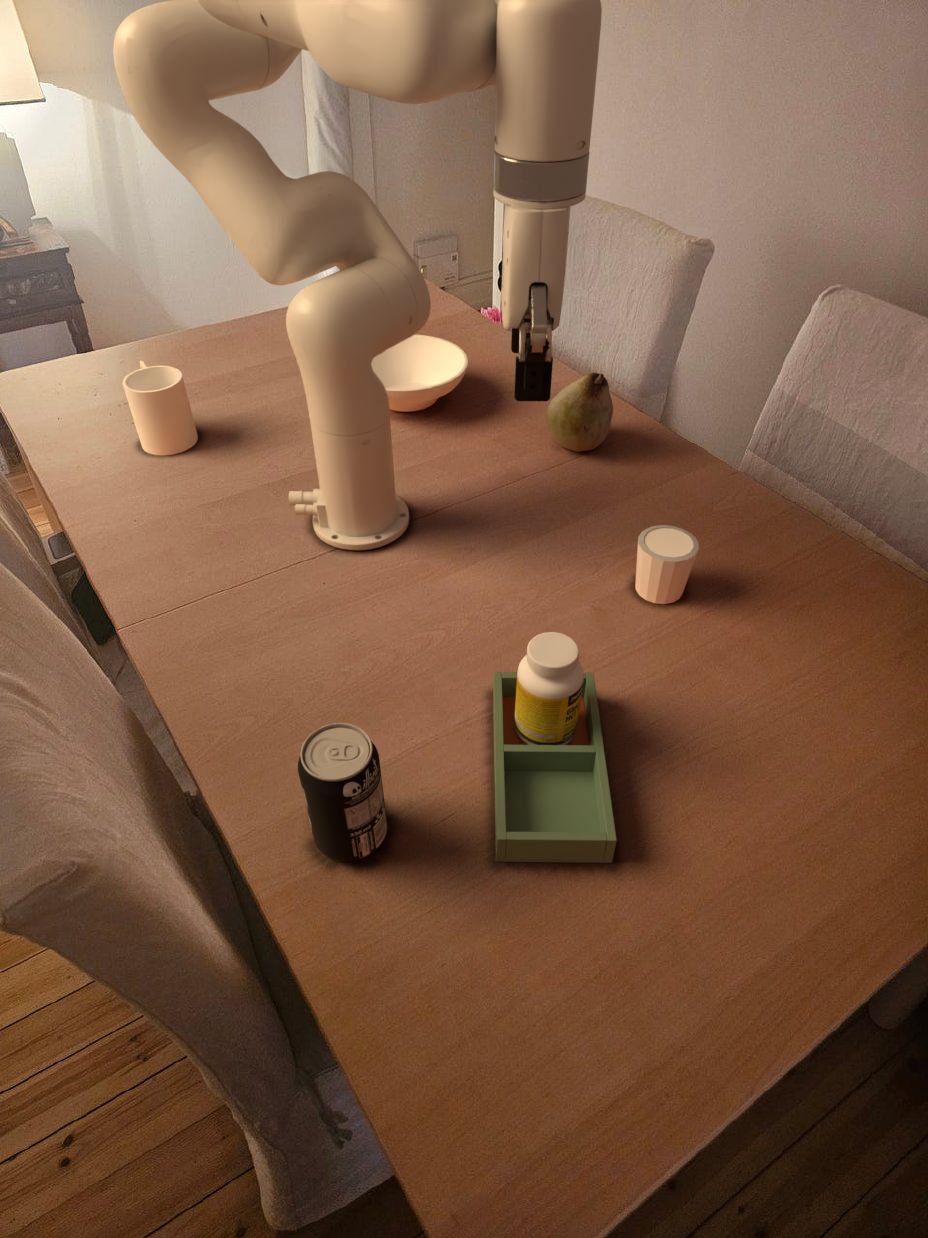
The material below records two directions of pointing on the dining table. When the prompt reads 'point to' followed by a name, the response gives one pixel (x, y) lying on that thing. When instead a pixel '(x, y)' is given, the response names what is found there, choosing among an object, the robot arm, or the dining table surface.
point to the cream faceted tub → (664, 563)
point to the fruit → (581, 413)
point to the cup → (160, 409)
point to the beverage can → (343, 791)
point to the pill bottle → (548, 690)
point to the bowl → (419, 371)
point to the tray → (551, 787)
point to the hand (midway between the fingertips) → (529, 374)
